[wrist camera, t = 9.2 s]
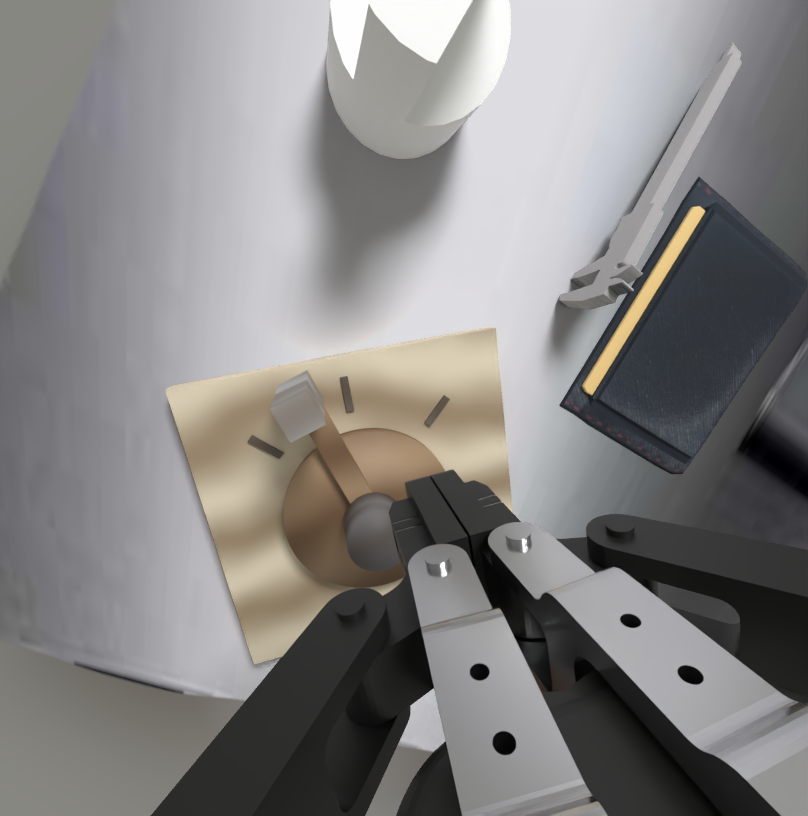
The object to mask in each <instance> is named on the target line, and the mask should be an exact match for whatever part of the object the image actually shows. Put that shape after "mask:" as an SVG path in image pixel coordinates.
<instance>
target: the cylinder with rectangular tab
mask: <svg viewBox="0 0 808 816" xmlns="http://www.w3.org/2000/svg"><path fill="white" fill-rule="evenodd" d="M510 37H511V24H510V5H509V0H331V3H330V16H329V31H328V46H327V60H326V71H327V79H328V88H329V92H330V95H331V98H332V101H333V104H334V106H335V109H336V112H337V113H338V115H339V117H340V118H341V120H342V121H343V123H344V125H345V126H346V128H347V129H348V131H349V132H350V133H351V134H352V135H353V136H354V137H355V138H356V139H357V140H359V141H360V142H361V143H362V144H363V145H364V146H366V147H368V148H369V149H371V150H373V151H374V152H376V153H378V154H380V155H383V156H387V157H391V158H395V159H413V158H418V157H421V156H424V155H426V154H429V153H432V152H434V151H435V150H436V149H438V148H439V147H440V146H442V145H443V144H444V143H446V142H447V141H448V140H449V139H450V138H451V137H452V135H453V134H454V133H455V132H456V131H457V130H458V129H459V128H460V127H461V126H462V124H463V123H464V122H465V121H466V120H467V119H468V118H469V117H470V116H471V115H472V114H473V112H474V111H475V110H476V109H477V108H478V107H479V106H480V105H481V104H482V102H483V101H484V100H485V98H486V97H487V96H488V95H489V93H490V92H491V91H492V89H493V88H494V87H495V85H496V83H497V81H498V79H499V76H500V74H501V72H502V69H503V67H504V65H505V63H506V58H507V53H508V47H509V42H510Z"/></svg>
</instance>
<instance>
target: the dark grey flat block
mask: <svg viewBox="0 0 808 816" xmlns="http://www.w3.org/2000/svg"><path fill="white" fill-rule="evenodd" d="M641 272H642V273H643V274H642V275H641V276H640V277H638V278H637V279H636V280H635V282H634V284H633V285H632V288H633V289H634V291H633V292H629V293H628V294H627V295H626V297H625V299H624V300H623V302H622V303H621V305H620V307H619V308H618V310H617V312H616V313H615V315H614V317H613V318H612V320H611V322H610V323H609V325H608V326H607V328H606V330H605V331H604V333H603V335H602V336H601V338H600V340H599V341H598V343H597V345H596V346H595V348H594V349H593V351H592V353H591V354H590V356H589V358H588V359H587V361H586V363H585V364H584V366H583V368H582V369H581V371H580V372H579V374H578V376H577V377H576V379H575V381H574V382H573V384H572V386H571V387H570V389H569V390H568V392H567V394H566V395H565V397H564V399H563V400H562V402H561V404H560V406H562V407H564V408H565V409H567V410H569V411H571V412H572V413H574V414H575V415H577V416H578V417H579V418H581V419H582V420H583V421H585V422H586V423H587V424H589V425H590V426H592V427H594V428H595V429H597V430H599V431H600V432H602V433H604V434H605V435H607V436H608V437H610V438H612V439H613V440H615V441H617V442H618V443H620V444H622V445H623V446H625V447H627V448H628V449H630V450H632V451H633V452H635V453H637V454H638V455H640V456H641V457H643V458H645V459H646V460H648V461H650V462H651V463H653V464H655V465H656V466H658V467H660V468H662V469H664V470H666V471H668V472H669V473H671V474H683V472H684V471H685V470H686V468H687V467H688V466H689V464H690V463H691V461H692V460H693V459H694V457H695V456H696V454H697V453H698V451H699V450H700V448H701V447H702V445H703V444H704V442H705V441H706V439H707V438H708V436H709V435H710V433H711V432H712V430H713V429H714V427H715V426H716V424H717V423H718V421H719V419H720V418H721V416H722V415H723V413H724V412H725V410H726V409H727V407H728V406H729V404H730V403H731V401H732V399H733V398H734V396H735V395H736V393H737V392H738V390H739V389H740V387H741V386H742V384H743V382H744V381H745V379H746V378H747V377H748V375H749V374H750V372H751V371H752V369H753V368H754V366H755V365H756V363H757V362H758V360H759V359H760V357H761V356H762V355H763V353H764V352H765V350H766V349H767V347H768V346H769V344H770V343H771V341H772V340H773V338H774V337H775V335H776V334H777V333H778V331H779V330H780V328H781V327H782V325H783V324H784V322H785V321H786V320H787V318H788V317H789V315H790V314H791V312H792V311H793V310H794V308H795V307H796V305H797V304H798V302H799V300H800V298H801V297H802V295H803V293H804V291H805V290H806V288H807V280H806V274H805V272H804V271H803V270H802V269H801V267H800V266H799V265H798V264H797V263H796V262H795V261H794V260H793V259H791V258H790V257H789V256H788V255H787V254H786V253H784V252H783V251H782V250H781V249H780V248H779V247H777V246H776V245H775V244H774V243H773V242H772V241H770V240H769V239H768V238H767V237H766V236H765V235H763V234H762V233H761V232H760V231H759V230H758V229H757V228H755V227H754V226H753V225H752V224H751V223H750V222H749V221H748V220H747V219H746V218H745V217H744V216H743V215H741V214H740V213H739V212H738V211H737V210H736V209H735V208H734V207H733V206H732V205H731V204H730V203H729V202H727V201H726V200H725V199H724V198H723V197H721V196H720V195H719V194H718V193H717V192H716V191H714V190H713V189H712V188H711V187H710V186H709V185H708V184H707V183H705V182H704V181H703V180H702V179H701V178H700V177H698V179H697V180H696V182H695V183H694V185H693V186H692V188H691V189H690V191H689V192H688V194H687V195H686V197H685V198H684V200H683V201H682V203H681V205H680V206H679V208H678V210H677V212H676V213H675V215H674V217H673V219H672V220H671V222H670V224H669V226H668V227H667V229H666V231H665V233H664V234H663V236H662V238H661V239H660V241H659V243H658V244H657V246H656V248H655V249H654V251H653V253H652V254H651V256H650V257H649V259H648V261H647V262H646V264H645V266H644V267H643V269H642V271H641Z"/></svg>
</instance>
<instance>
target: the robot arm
mask: <svg viewBox="0 0 808 816" xmlns="http://www.w3.org/2000/svg"><path fill="white" fill-rule="evenodd" d="M405 489H406V494H407V499H403V500H399V501H396V502H392V505H391V508H390V510H389V517H390V521H391V526H392V530H393V535H394V539H395V544H396V548H397V553H398V557H399V560H400V563H401V566H402V569H403V572H404V575H405V577H404V578H403V580H402V581H401V582H400V583H399V585H398V586H396V587H395V588H394V589H393V590H391V591H390V592H388V593H386V594H385V595H383V596H382V595H381V594H380V593H379V592H377V591H375V590H373V589H370V588H355V589H351V590H347V591H345V592H342V593H340V594H338V595H337V596H335V597H333V598H332V599H331V600H330V601H328V603H327V604H326V605H325V606H324V607H323V608H322V609H321V611H320V612H319V613H318V614H317V615H316V617H315V618H314V619H313V620H312V621H311V623H310V624H309V625H308V626H307V627H306V629H305V630H304V631H303V632H302V634H301V635H300V636H299V637H298V638H297V640H296V641H295V642H294V643H293V644H292V646H291V647H290V648H289V649H288V650H287V652H286V653H285V654H284V655H283V657H282V658H281V659H280V660H279V661H278V663H277V664H276V665H275V666H274V667H273V669H272V670H271V671H270V672H269V673H268V675H267V676H266V677H265V678H264V679H263V681H262V682H261V683H260V684H259V686H258V687H257V688H256V689H255V690H254V692H253V693H252V694H251V695H250V696H249V698H248V699H247V700H246V701H245V702H244V704H243V705H242V706H241V707H240V709H239V710H238V711H237V712H236V713H235V715H234V716H233V717H232V718H231V719H230V721H229V722H228V723H227V724H226V726H225V727H224V728H223V729H222V730H221V732H220V733H219V734H218V735H217V736H216V738H215V739H214V740H213V741H212V742H211V744H210V745H209V746H208V747H207V748H206V750H205V751H204V752H203V753H202V754H201V756H200V757H199V758H198V759H197V761H196V762H195V763H194V764H193V765H192V767H191V768H190V769H189V770H188V771H187V773H186V774H185V775H184V776H183V777H182V779H181V780H180V781H179V782H178V783H177V785H176V786H175V787H174V789H172V791H171V792H170V793H169V794H168V796H167V797H166V798H165V799H164V800H163V802H162V803H161V804H160V805H159V807H158V808H157V809H156V810H155V811H154V813H153V814H152V815H151V816H365V815H366V812H367V810H368V808H369V806H370V804H371V801H372V799H373V797H374V795H375V793H376V791H377V788H378V786H379V784H380V782H381V780H382V777H383V775H384V773H385V771H386V769H387V767H388V764H389V762H390V760H391V758H392V756H393V754H394V751H395V749H396V747H397V745H398V743H399V741H400V738H401V736H402V734H403V732H404V730H405V728H406V725H407V723H408V720H409V717H410V705H411V704H413V703H414V702H416V701H417V700H418V699H420V698H421V697H422V696H424V695H425V694H426V693H428V692H429V691H430V690H432V689H433V688H434V690H435V695H436V699H437V704H438V708H439V713H440V717H441V722H442V727H443V731H444V736H445V740H446V742H444V743H443V744H442V745H441V746H440V747H439V748H438V749H437V750H435V751H434V752H433V753H432V755H431V756H430V757H429V758H428V759H427V760H426V762H425V763H424V764H423V765H422V767H421V768H420V770H419V771H418V772H417V774H416V776H415V777H414V778H413V780H412V782H411V784H410V786H409V787H408V789H407V791H406V794H405V795H404V798H403V800H402V802H401V805H400V807H399V810H398V812H397V815H396V816H808V550H805V549H800V548H795V547H790V546H785V545H779V544H774V543H769V542H764V541H759V540H754V539H748V538H743V537H738V536H733V535H728V534H723V533H717V532H712V531H707V530H702V529H697V528H692V527H686V526H681V525H676V524H671V523H666V522H661V521H655V520H650V519H645V518H640V517H635V516H630V515H623V514H609V515H603V516H600V517H597V518H595V519H593V520H591V521H590V522H589V523H588V525H587V527H586V534H587V537H583V538H569V539H555V538H554V537H553V536H552V535H551V534H549V533H548V532H547V531H546V530H545V529H543V528H542V527H540V526H538V525H535V524H532V523H527V522H520V521H519V519H518V518H517V517H516V516H515V515H514V514H513V513H512V512H511V511H510V510H509V509H508V507H507V506H506V505H505V504H504V503H503V502H501V500H500V499H499V498H498V497H497V496H495V493H494V492H493V491H492V490H491V489H490V488H489V487H488V486H487V485H485V484H482V483H480V482H478V481H475V480H473V481H469V482H465V483H464V482H463V481H462V479H461V478H460V477H459V476H458V474H457V473H456V472H455V471H454V470H453V469H452V470H448V471H444V472H441V473H437V474H433V475H430V476H426V477H422V478H418V479H415V480H411V481H407V482H405ZM658 582H660V583H664V584H667V585H671V586H674V587H678V588H682V589H685V590H689V591H693V592H696V593H700V594H704V595H707V596H711V597H714V598H718V599H721V600H723V601H725V602H727V603H728V604H730V605H731V606H732V607H733V608H734V609H735V610H736V611H737V613H738V614H739V617H740V623H737V624H727V623H723V622H720V621H717V620H713V619H710V618H707V617H703V616H700V615H697V614H694V613H690V612H687V611H684V610H680V609H677V608H674V607H670V606H668V605H667V604H665V603H664V602H663V601H662V600H660V599H659V598H658Z"/></svg>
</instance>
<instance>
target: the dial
mask: <svg viewBox="0 0 808 816" xmlns="http://www.w3.org/2000/svg"><path fill="white" fill-rule="evenodd" d="M270 411H271V412H272V414H273V415H274V417H275V419H276V420H277V422H278V424H279V425H280V427H281V429H282V430H283V432H284V433H285V435H286V437H287V438H288V440H289V442H290V443H292V442H294V441H296V440H297V439H299V438H301V437H303V436H305V435H307V434H309V435H310V437H311V438H312V440H313V442H314V443H315V445H316V447H317V448H316V449H314V450H313V451H312V452H311V453H310V454H309V455H308V456H307V457H306V458H305V459H304V460H303V461H302V463H301V464H300V465H299V467H298V468H297V469H296V471H295V473H294V475H293V476H292V478H291V481H290V483H289V486H288V488H287V493H286V497H285V503H284V514H283V519H284V529H285V533H286V537H287V540H288V543H289V545H290V547H291V549H292V551H293V553H294V554H295V556H296V557H297V558H298V560H299V561H300V562H301V563H302V564H303V565H304V566H305V567H306V568H307V569H308V570H309V571H311V572H312V573H314V574H315V575H316V576H318V577H320V578H322V579H324V580H326V581H328V582H331V583H334V584H337V585H342V586H346V587H355V588H367V587H376V586H381V585H385V584H389V583H392V582H394V581H397V580H399V579H402V578H404V577H405V575H404V572H403V569H402V566H401V563H400V560H399V557H398V553H397V548H396V544H395V539H394V535H393V530H392V526H391V521H390V517H389V510H390V508H391V505H392V502H396V501H399V500H403V499H407V494H406V489H405V482H407V481H411V480H415V479H418V478H422V477H426V476H430V475H433V474H437V473H441V472H444V471H445V470H444V468H443V466H442V465H441V463H440V462H439V461H438V459H437V458H436V457H435V456H434V454H433V453H432V452H431V451H430V450H429V449H428V448H427V447H426V446H425V445H424V444H422V443H421V442H419V441H418V440H416V439H415V438H413V437H411V436H409V435H407V434H404V433H401V432H398V431H395V430H390V429H384V428H363V429H357V430H352V431H348V432H345V433H342V434H340V433H339V432H338V430H337V428H336V426H335V425H334V423H333V421H332V419H331V418H330V416H329V414H328V412H327V410H326V409H325V407H324V404H323V397H322V395H321V393H320V392H319V390H318V388H317V386H316V385H315V383H314V381H313V379H312V377H311V376H310V374H309V372H308V370H306V371H304V372H302V373H301V374H299V375H297V376H295V377H293V378H291V379H289V380H287V381H285V382H283V383H281V384H279V385H278V388H277V390H276V393H275V396H274V399H273V402H272V405H271V408H270Z"/></svg>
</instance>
